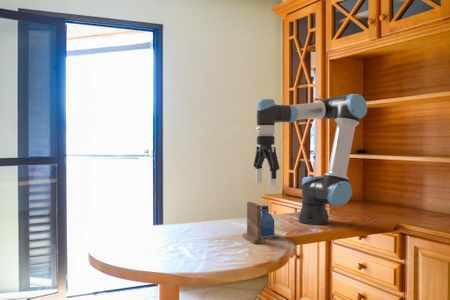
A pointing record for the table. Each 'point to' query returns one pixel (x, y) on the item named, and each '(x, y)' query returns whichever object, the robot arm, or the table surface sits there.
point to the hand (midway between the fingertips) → (265, 185)
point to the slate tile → (270, 236)
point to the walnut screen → (253, 224)
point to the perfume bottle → (266, 222)
